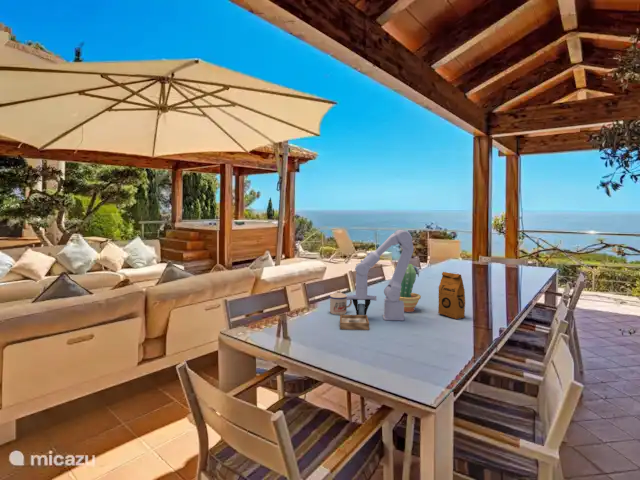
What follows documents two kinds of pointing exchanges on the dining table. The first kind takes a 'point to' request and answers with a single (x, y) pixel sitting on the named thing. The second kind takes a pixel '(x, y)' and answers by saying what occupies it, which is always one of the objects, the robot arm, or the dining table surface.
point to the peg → (361, 309)
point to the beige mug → (338, 303)
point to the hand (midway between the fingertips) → (361, 314)
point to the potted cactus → (409, 289)
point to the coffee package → (451, 296)
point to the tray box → (354, 322)
